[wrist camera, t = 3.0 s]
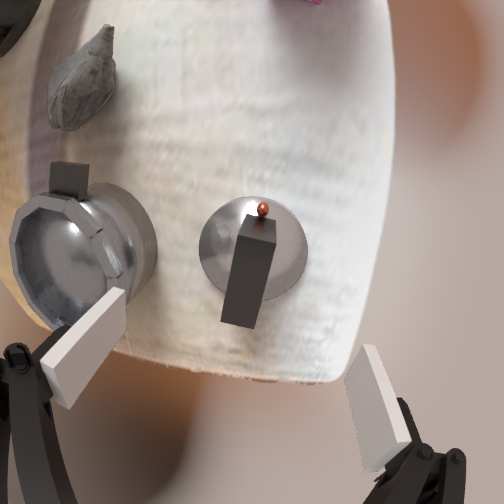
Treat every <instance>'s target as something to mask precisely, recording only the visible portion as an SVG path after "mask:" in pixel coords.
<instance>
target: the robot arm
mask: <svg viewBox="0 0 504 504" xmlns="http://www.w3.org/2000/svg"><path fill="white" fill-rule="evenodd" d="M39 3H40V0H0V57H2V56H3V55H4V54H5V53H6V52H7V51H8V50H9V49H10V48H11V47H12V46H13V45H14V43H15V42H16V41H17V40H18V38H19V37H20V36H21V34H22V33H23V31H24V30H25V28H26V27H27V25H28V23H29V22H30V20H31V19H32V17H33V15H34V13H35V11H36V9H37V7H38V5H39ZM126 330H127V329H126V302H125V290H123V289H119V288H116V287H113V288H112V289H110V290H109V291H108V292H107V293H106V294H105V295H104V296H103V297H102V298H101V299H100V300H99V301H98V302H97V303H96V304H95V305H94V306H93V307H91V308H90V309H89V310H88V311H87V312H86V313H85V314H84V315H83V316H82V317H81V318H80V319H79V320H78V321H77V322H76V323H75V324H74V325H73V326H72V327H71V326H69V325H67V324H65V325H63V326H61V327H59V328H57V329H56V330H55V331H54V332H53V333H52V334H51V336H49V337H48V338H47V339H46V341H44V342H43V343H42V344H41V345H40V346H39V347H38V348H37V349H36V350H35V351H34V352H33V353H32V354H30V351H29V348H28V347H27V346H26V345H24V344H23V343H13V344H11V345H9V346H7V348H6V349H5V350H4V353H3V355H4V357H5V359H6V360H5V359H2V358H0V504H8V497H7V496H8V495H7V474H8V455H9V444H10V443H9V442H10V435H11V434H12V443H13V449H14V456H15V462H16V467H17V472H18V477H19V481H20V485H21V490H22V493H23V497H24V501H25V504H78V503H77V500H76V498H75V495H74V492H73V489H72V487H71V484H70V481H69V478H68V475H67V471H66V468H65V465H64V461H63V458H62V454H61V451H60V447H59V443H58V438H57V434H56V429H55V424H54V419H53V413H52V407H51V403H50V398H51V397H52V396H54V398H55V400H56V402H57V403H58V404H60V405H62V406H63V407H65V408H67V409H69V410H70V408H71V407H72V405H73V404H74V402H75V401H76V399H77V398H78V397H79V395H80V394H81V392H82V391H83V389H84V388H85V386H86V385H87V384H88V382H89V381H90V379H91V378H92V376H93V375H94V374H95V372H96V371H97V369H98V368H99V367H100V365H101V364H102V362H103V361H104V360H105V358H106V357H107V356H108V354H109V353H110V352H111V350H112V349H113V347H114V346H115V345H116V343H117V342H118V341H119V339H120V338H121V337H122V335H123V334H124V333H125V331H126ZM344 382H345V386H346V390H347V394H348V399H349V403H350V408H351V412H352V417H353V421H354V426H355V431H356V435H357V440H358V445H359V450H360V456H361V461H362V466H363V472H364V473H366V472H377V471H379V470H380V469H381V468H382V467H383V466H385V469H386V471H385V472H384V473H383V474H381V475H380V476H379V477H378V478H376V479H375V480H374V482H376V481H377V480H379V481H378V482H377V484H376V485H375V487H374V488H373V490H372V491H371V493H370V494H369V496H368V497H367V498H366V500H365V501H364V503H363V504H464V494H465V481H466V456H465V455H464V453H463V452H462V451H461V450H460V449H457V448H453V449H451V450H450V451H448V452H447V453H446V454H442V453H435V452H434V450H433V449H432V447H430V446H429V445H428V444H425V443H422V441H421V439H420V436H419V433H418V430H417V428H416V425H415V423H414V421H413V417H412V415H411V414H410V410H409V407H408V405H407V404H406V402H405V401H404V400H403V399H402V398H396V396H395V394H394V391H393V389H392V386H391V384H390V381H389V379H388V376H387V374H386V371H385V369H384V367H383V364H382V362H381V359H380V357H379V355H378V352H377V350H376V348H375V346H374V345H367V344H362V346H361V348H360V350H359V352H358V354H357V356H356V357H355V359H354V361H353V363H352V365H351V366H350V368H349V370H348V372H347V373H346V375H345V377H344Z"/></svg>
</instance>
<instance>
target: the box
mask: <svg viewBox="0 0 504 504" xmlns="http://www.w3.org/2000/svg"><path fill="white" fill-rule="evenodd" d="M306 1H309V2H312V3H315V4H318V5H319V4H320V3H321V1H322V0H306Z"/></svg>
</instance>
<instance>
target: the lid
mask: <svg viewBox="0 0 504 504" xmlns="http://www.w3.org/2000/svg"><path fill="white" fill-rule="evenodd" d="M307 256H308V246H307V240H306V237H305V234H304V231H303V228H302V226H301V224H300V222H299V221H298V219H297V218H296V217H295V215H294V214H293V213H292V212H291V211H290V210H289V209H287V208H286V207H285V206H283V205H282V204H280V203H278V202H276V201H274V200H271V199H268V198H264V197H256V196H249V197H242V198H238V199H235V200H232V201H230V202H228V203H226V204H225V205H223V206H222V207H220V208H219V209H218V210H217V211H216V212H215V213H214V214H213V215H212V216H211V217H210V219H209V220H208V221H207V223H206V224H205V226H204V228H203V230H202V233H201V236H200V241H199V257H200V261H201V264H202V267H203V270H204V272H205V274H206V275H207V277H208V278H209V279H210V281H211V282H212V283H213V284H214V285H215V286H216V287H217V288H218V289H220V290H221V291H222V292H224V293H226V295H225V300H224V305H223V310H222V315H221V320H220V322H224V323H228V324H233V325H237V326H242V327H246V328H251V329H254V327H255V323H256V319H257V316H258V312H259V309H260V305H261V301H264V300H269V299H272V298H275V297H277V296H280V295H282V294H283V293H285V292H286V291H288V290H289V289H290V288H292V286H293V285H294V284H295V283H296V282H297V281H298V280H299V278H300V277H301V275H302V273H303V271H304V269H305V266H306V262H307Z"/></svg>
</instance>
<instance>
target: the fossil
mask: <svg viewBox="0 0 504 504" xmlns="http://www.w3.org/2000/svg"><path fill="white" fill-rule="evenodd" d="M113 35H114V27H111V26H110V25H107V24H105V25H104V26H103V28H102V29H101V30H100V31H99V33H98V34H97V35H96V36H94V37H93V38H92V39H91V40H90V41H89V42H87V43H86V44H85V45H84V46H83V47H82V48H81V49H80V50H79V51H78V52H77V54H74V55H71V56H68V57H65V58H62V59H60V60H59V61H57V62H56V64H55V66H54V68H53V70H52V72H51V76H50V79H49V84H48V100H47V107H48V116H49V123H50V124H51V127H52V128H53V129H59V128H61V129H62V130H63V131H65V132H69V131H73V130H76V129H78V128H80V126H82V125H83V124H84V123H86V122H87V121H88V120H89V119H90V118H91V117H92V116H93V115H94V114H95V113H96V112H97V111H98V110H99V109H100V108H101V107H102V106H103V105H104V104H105V103H106V102H107V101H108V100H109V99H110V97H111V96H112V94H113V93H114V90H115V82H114V76H113V75H114V72H115V68H116V64H115V62H114V60H113V59H112V55H113V38H114V37H113Z"/></svg>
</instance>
